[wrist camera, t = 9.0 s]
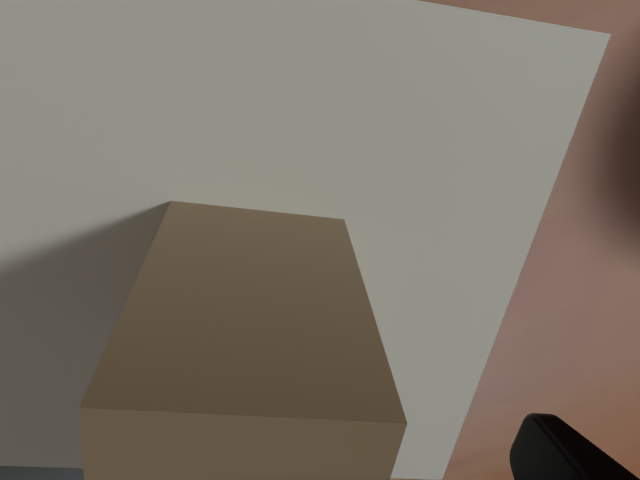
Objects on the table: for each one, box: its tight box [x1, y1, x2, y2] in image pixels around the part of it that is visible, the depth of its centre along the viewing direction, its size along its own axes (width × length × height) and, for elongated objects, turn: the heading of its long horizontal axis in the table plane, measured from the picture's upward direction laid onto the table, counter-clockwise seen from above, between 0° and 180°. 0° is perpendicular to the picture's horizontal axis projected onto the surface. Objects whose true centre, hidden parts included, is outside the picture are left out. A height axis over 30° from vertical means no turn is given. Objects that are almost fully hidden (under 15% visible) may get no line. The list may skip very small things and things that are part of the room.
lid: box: [0, 0, 611, 480], centre depth 9 cm, size 12×12×6 cm
